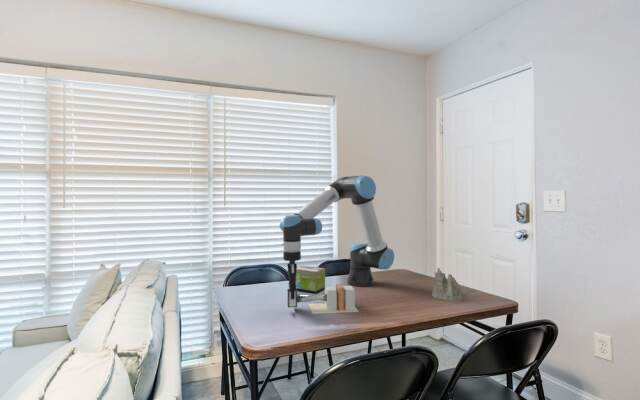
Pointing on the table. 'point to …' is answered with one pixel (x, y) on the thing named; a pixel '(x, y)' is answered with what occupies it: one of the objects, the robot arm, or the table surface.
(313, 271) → the tea box
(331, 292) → the shaft housing
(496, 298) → the table surface
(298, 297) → the shaft
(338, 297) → the block
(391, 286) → the table surface
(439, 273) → the grey rock formation
